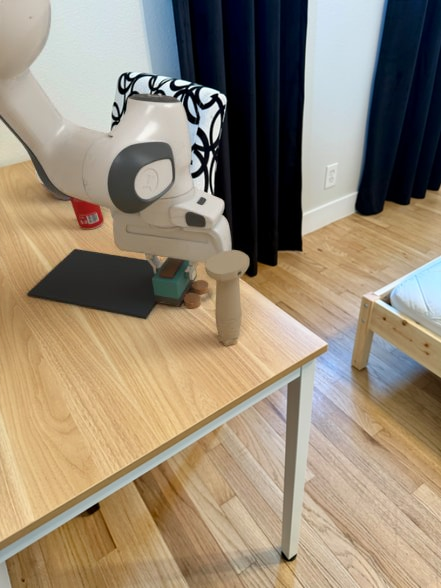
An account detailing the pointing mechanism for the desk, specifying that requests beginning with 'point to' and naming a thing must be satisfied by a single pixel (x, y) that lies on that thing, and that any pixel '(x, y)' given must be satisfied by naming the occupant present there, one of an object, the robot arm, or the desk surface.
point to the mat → (100, 283)
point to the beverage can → (87, 214)
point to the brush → (171, 281)
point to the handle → (227, 292)
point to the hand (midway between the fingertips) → (175, 275)
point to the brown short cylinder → (192, 300)
